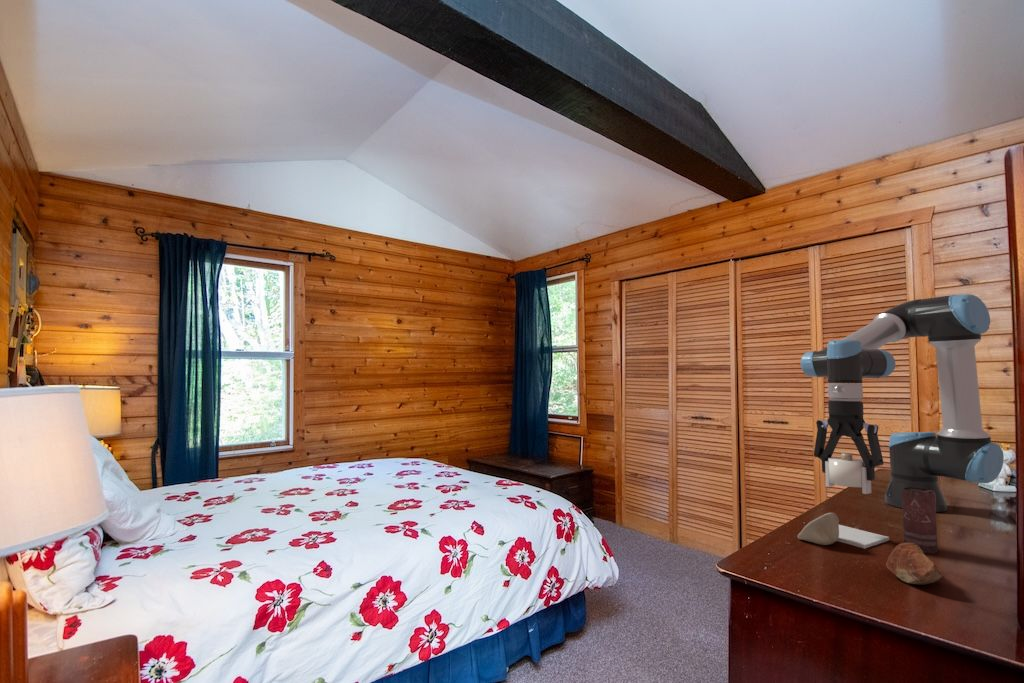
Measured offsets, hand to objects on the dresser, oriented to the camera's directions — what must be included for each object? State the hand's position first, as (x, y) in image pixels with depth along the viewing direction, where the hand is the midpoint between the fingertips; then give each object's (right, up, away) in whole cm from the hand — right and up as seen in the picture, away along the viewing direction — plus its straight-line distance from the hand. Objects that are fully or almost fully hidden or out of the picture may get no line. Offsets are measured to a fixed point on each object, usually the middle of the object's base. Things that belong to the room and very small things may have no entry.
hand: (847, 489), depth 127 cm
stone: (-10, -12, -4) cm, 16 cm away
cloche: (0, +1, 0) cm, 1 cm away
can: (+11, -12, -9) cm, 19 cm away
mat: (0, -12, -1) cm, 12 cm away
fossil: (-5, -11, -26) cm, 29 cm away
